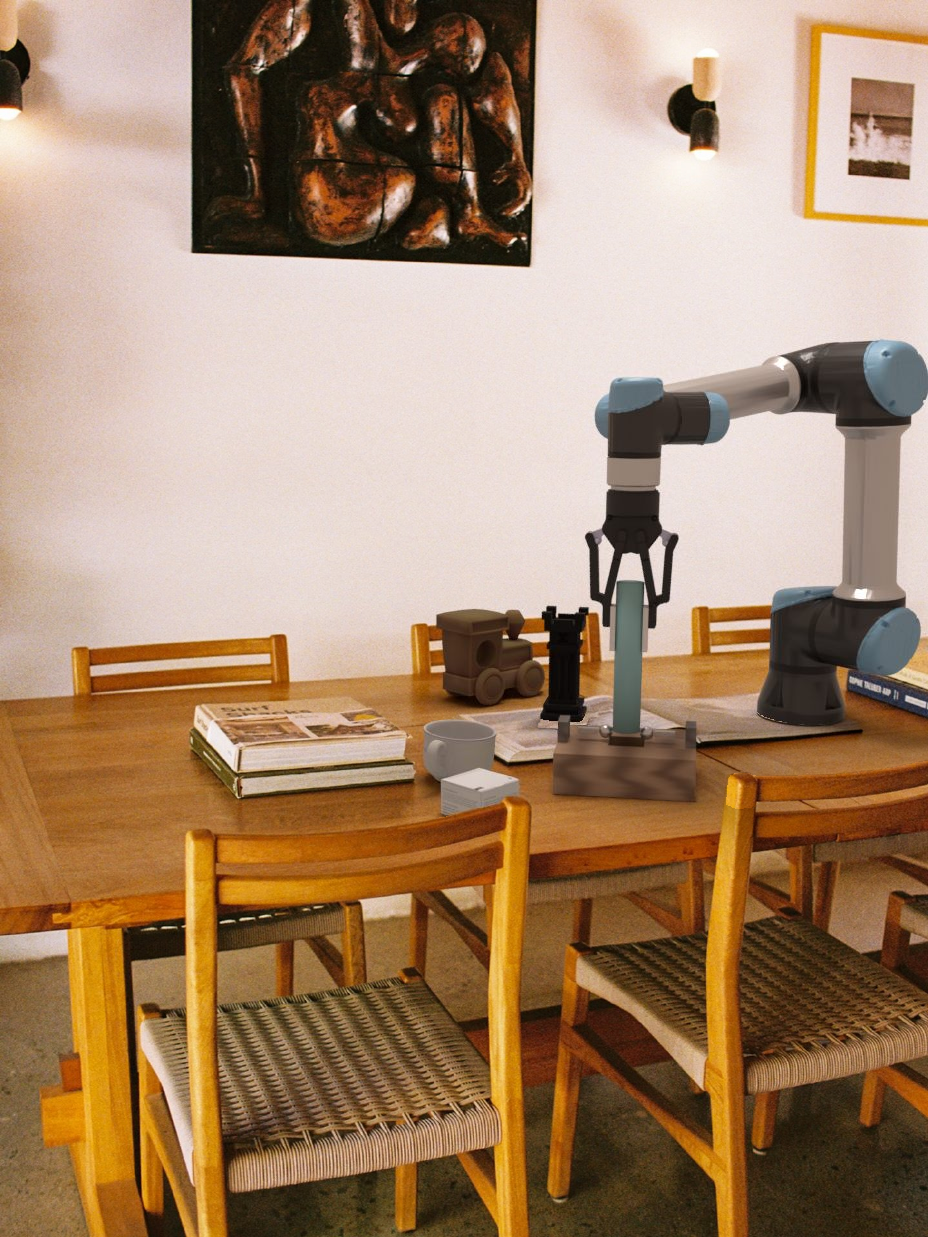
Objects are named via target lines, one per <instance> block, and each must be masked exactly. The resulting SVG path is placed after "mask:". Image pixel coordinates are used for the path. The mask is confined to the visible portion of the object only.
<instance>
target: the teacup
mask: <svg viewBox="0 0 928 1237" xmlns="http://www.w3.org/2000/svg"><path fill="white" fill-rule="evenodd" d="M422 730H423V746H422V747H423V749H422V750H423V751H422V753H423V758H422V759H423V765H424V767H425V769H426V771H427V772H428V773H430V775H432V776H433V779H435V780H436V781H438V782H440V783H441V779H445V778H448V777H452V776H455V775H458V774H461V773H465V772H468V771H471V770H474V769H477V768H481V769H485V770H488V771H492V768H493V764H494V759H495V758H494V757H495V750H496V749H495V748H496V737H497V734H498V731H497V730H496V728H495V727H493V726H491V725H489V724H487V723H484V722H483V723H482V722H479V721H473V720H468V719H439V720H435V721H434V720H433V721H431V722H428V723H426V724H424V726H423V728H422Z"/></svg>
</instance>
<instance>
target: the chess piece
mask: <svg viewBox="0 0 928 1237" xmlns="http://www.w3.org/2000/svg"><path fill="white" fill-rule="evenodd" d="M557 607H558V606H557V605H547V606H546V607H545V610H543V611H541V620H543V621H544V622H543V624H544V625H543V631H544V632H549V633H548V634H549V635H548V639H549V641H548V642H547V643H546V650H548V695H547V697H546V698H545V701H544V702H543V703H542V710H541V711H540V712H541V713H540V714H539V720H540V719H543V720H549V721H558V720H559V717H560V715H567V716H570V722H580V721H582V720H583V718H584V716H585V714H586V713H587V710H588V708H587V705H584V703H585V697H580V688H581V687H580V683H581V682H580V681H581V680H580V679H581V676H580V675H581V648H582V646H584V645H583V644H584V639H581V638H582V637H581V634H582V633H583V632H584V631H585V630H584V629H585V628H586V626H587V616H589V613H590V612H589V611H590V607H589V606H579V607H578V612H577V611H576V612H575V613H562V612H561V613H560V612H558V613H557Z"/></svg>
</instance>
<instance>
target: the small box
mask: <svg viewBox="0 0 928 1237" xmlns="http://www.w3.org/2000/svg"><path fill="white" fill-rule="evenodd" d="M513 795H514V796H519V797H520V779H518V778H517V777H514V776H511V775H510V776H509V775H506V774H503V773H498V772H494V771H492V770H491V771H488V770H485V769H481V768H477V769H474V770H471V771H468V772H465V773H461V774H458V775H455V776H452V777H448V778H445V779H441V782H440V814H441V815H444V816H447V815H450V814H453V813H459V812H462V811H467V810H470V809H476V808H483V807H487V806H492V805H495V804H499V803H500V802H501V801H502V800H503V799H504V798H505V797H507V796H513Z"/></svg>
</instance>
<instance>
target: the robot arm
mask: <svg viewBox="0 0 928 1237" xmlns="http://www.w3.org/2000/svg"><path fill="white" fill-rule="evenodd" d="M926 364H927V363H926V362H925V360H924V358H923V356H922V354H921V353H920V354H919V352H918V350H917V348H915V346H913V345H912V344H910V343H908V342H905V341H901V340H889V339H877V340H863V341H862V340H861V341H843V342H838V341H835V342H834V341H833V342H825V343H821V344H817V345H814V346H809V347H806V348H802V349H798V350H794V351H790V352H787V353H784V354H780V355H775V356H771V357H768V358H767V359H765V360H764V362H762V364H761V365H758V366H753V367H752V366H751V367H747V368H743V369H736V370H733V371H728V372H723V373H717V374H712V375H708V376H702V377H697V378H691V379H687V380H683V381H678V382H673V383H668V384H664V382H663V379H661V378H659V377H645V376H644V377H642V376H641V377H639V376H638V377H636V376H635V377H616V378H614V379H613V380H612V381H611V382H610V385H609V393H607V394H604V395H603V396H602V397H601V398H600V399H599V401H598V403H597V404H596V405H595V406H596V407H595V409H594V424H595V427H596V429H597V431H598V433H599V434H600V435H601V436H603V438H605V439H606V440H607V457H606V485H607V486H610V488H609V489H607V491H606V497H605V500H606V501H605V503H606V504H605V520H604V522H603V524H602V526H601V527H600V528H598V529H595V530H589V531H587V532H586V534H585V535H584V539H585V542H586V544H587V547H588V550H589V551H588V552H589V556H588V558H589V560H588V561H589V598H590V600H591V601H594V602H597V603H598V604H601V606H602V617H601V618H602V620H601V622H602V624H601V625H602V627H603V628H609V644H608V645H609V652H615V626H616V603H612V602H613V601H612V600H613V596H614V592H615V588H616V582H617V581H618V580H617V579H618V574H619V571H620V567H621V566H620V565H621V562H622V559H623V558H622V557H623V555H624V554H625V555H627V554H631V553H632V554H635V555H639V558H640V563H641V569H642V574H643V580H644V581H643V582H645V583H644V588H645V592H646V598H647V604H644V607H643V631H642V653H648V650H649V649H648V648H649V646H648V645H649V629H651V630H654V629H656V626H657V617H658V616H657V615H658V614H657V612H658V607H659V606H660V605H663V604H668V603H669V602H670V598H671V589H672V588H671V587H672V574H673V573H672V572H673V560H674V552H675V549H676V547H677V544H678V542H679V539H680V538H679V534H678V533H676V532H670V531H668V530H666V529H663V526H662V523H661V521H660V499H661V492H659V490H658V489H657V488H656V487H659V485H660V484H661V471H662V470H661V468H662V465H661V464H662V446H666V445H668V446H669V445H672V446H673V445H677V446H678V445H680V446H681V445H685V446H686V445H688V446H690V445H698V446H699V445H700V446H704V445H709V444H716V443H718V442H720V441H721V440H722V439H723V438H725V436H726V434H728V430H729V428H730V425H731V421H730V420H735V419H740V418H744V417H749V416H752V415H757V414H762V413H767V412H770V413H772V414H774V415H786V414H790V413H813V414H814V413H816V414H827V415H828V414H829V415H835V424H834V426H835V429H837V430H838V432H839V433H840V434H842V436H843V438H844V472H843V473H844V475H843V476H844V478H843V479H844V480H843V518H842V519H843V521H842V524H843V525H842V527H843V528H842V530H843V531H842V567H841V568H842V570H841V571H842V574H841V575H842V576H841V577H842V579H841V582H840V584H839V585H838V586H835V585H819V586H818V585H816V586H799V587H797V586H796V587H788V588H780V589H779V590H777V591H776V592H775V593H774V595H773V596H772V602H771V609H770V612H769V613H770V614H769V615H770V623H769V624H770V626H769V627H770V629H769V658H768V660H769V662H768V671H767V675H766V677H765V681H764V682H763V685H762V687H761V689H760V693H759V694H758V697H757V701H756V713H757V712H758V713H759V714H760V715H763V716H764V717H767V718H770V719H774V720H775V721H774V722H776V721H782V722H787V723H790V724H789V725H795V724H804V725H803V726H820V725H819V724H827V725H832V724H833V725H834V724H838V723H841V722H842V721H844V720H845V717H846V715H845V714H846V713H845V712H846V705H845V701H844V697H843V693H842V689H841V686H840V683H839V678H838V674H837V673H838V667H839V668H843V669H848V670H853V671H855V672H860V673H861V674H865V675H876V676H880V677H886V676H887V677H889V676H892V675H895V674H897V673H898V672H900V671H902V670H903V669H904V668H905V667H906V666H907V665H908V664H909V662H910V661H911V660H912V659H913V657H914V656H915V653H916V652H917V649H918V647H919V643H920V639H921V634H922V629H921V628H922V627H921V622H920V618H918V617H917V616H918V615H917V614H916V613H915V612H914V611H913V610H911V609H910V608H909V607H907V606H906V604H907V600H906V599H907V593H906V591H905V590H904V589H903V588H902V587H901V586H900V585H899V584H898V581H897V580H898V577H897V576H898V570H897V569H898V545H899V544H898V543H899V514H900V513H899V512H900V510H899V509H900V479H901V478H900V474H901V473H900V472H901V444H902V443H901V442H902V440H901V439H902V436H903V434H904V433H905V432H906V431H907V430H908V429H910V427H911V426H912V416H913V415H915V414H916V413H918V412H919V411H920V410H921V409H922V408H923V406H924V405H925V403H924V401H926V400H927V397H928V367H927V365H926ZM603 536H605V538H606V540H607V541H608V542H609V543H610V545H611V547H612V548H613V550H614V551H613V554H612V558H611V559H612V560H611V563H610V568H609V571H608V577H607V580H606V585H605V588H604V593H603V592H600V588H601V587H600V549H599V545H601V543H602V537H603ZM659 537H660V538H661V544H662V546H663V547H665V548H664V557H663V570H662V572H663V573H662V583H661V584H662V585H661V593H660V594H657V592H656V591H657V590H656V584H655V580H654V579H655V578H654V574H653V568H652V562H651V556H650V549H651V547H652V546H653V545H654V543H655V542H656V541H657V540H658V538H659ZM760 715H759V716H760ZM787 723H786V724H787Z"/></svg>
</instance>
